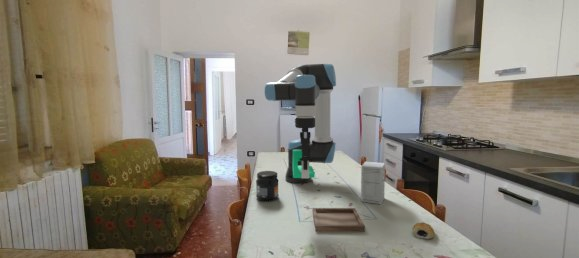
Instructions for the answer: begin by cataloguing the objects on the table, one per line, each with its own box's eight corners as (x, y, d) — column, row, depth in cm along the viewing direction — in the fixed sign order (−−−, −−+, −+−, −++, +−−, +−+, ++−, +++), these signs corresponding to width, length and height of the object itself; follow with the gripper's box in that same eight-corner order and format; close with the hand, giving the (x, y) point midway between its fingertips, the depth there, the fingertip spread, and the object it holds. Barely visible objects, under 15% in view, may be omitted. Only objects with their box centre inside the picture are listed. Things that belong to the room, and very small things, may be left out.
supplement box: (384, 197, 133) (385, 162, 131) (382, 204, 125) (383, 167, 123) (364, 195, 137) (364, 161, 135) (360, 201, 129) (361, 165, 127)
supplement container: (281, 195, 137) (281, 171, 136) (273, 203, 127) (273, 177, 126) (262, 193, 141) (261, 169, 139) (252, 200, 131) (251, 175, 129)
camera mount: (314, 180, 102) (315, 152, 101) (293, 180, 102) (293, 152, 101) (311, 171, 114) (311, 146, 113) (292, 172, 114) (292, 146, 113)
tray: (312, 212, 117) (312, 207, 117) (354, 212, 116) (355, 208, 116) (315, 231, 100) (315, 226, 100) (364, 231, 100) (364, 226, 100)
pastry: (414, 226, 105) (415, 216, 104) (435, 230, 101) (435, 220, 101) (411, 236, 96) (411, 226, 96) (433, 242, 93) (434, 231, 93)
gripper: (296, 114, 118) (296, 165, 120) (294, 119, 94) (294, 182, 96) (314, 114, 118) (313, 165, 120) (316, 119, 93) (316, 183, 96)
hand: (305, 173), depth 108 cm, fingers closed on camera mount, 12 cm apart
